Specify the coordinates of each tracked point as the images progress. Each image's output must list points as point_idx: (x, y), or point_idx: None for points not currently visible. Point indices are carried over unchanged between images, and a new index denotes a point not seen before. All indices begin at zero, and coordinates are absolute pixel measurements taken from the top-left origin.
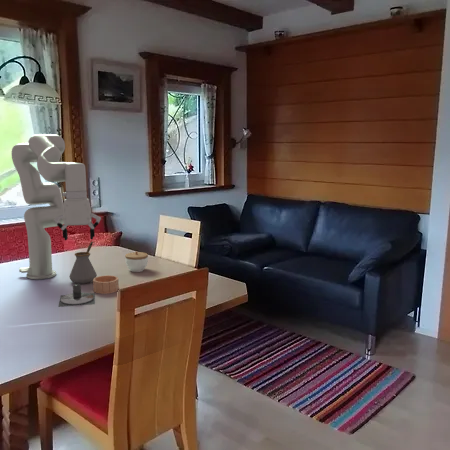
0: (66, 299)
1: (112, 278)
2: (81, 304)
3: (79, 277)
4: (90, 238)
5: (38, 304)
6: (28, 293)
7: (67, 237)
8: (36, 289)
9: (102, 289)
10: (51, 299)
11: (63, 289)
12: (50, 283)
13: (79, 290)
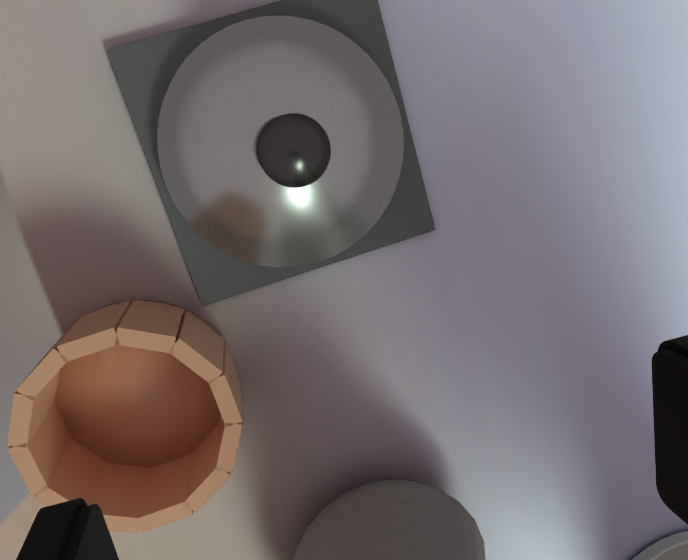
0: (352, 98)
1: (100, 501)
2: (210, 32)
3: (391, 498)
4: (89, 509)
5: (530, 48)
6: (659, 268)
7: (678, 502)
8: (633, 351)
9: (130, 309)
10: (476, 159)
11: (462, 373)
12: (582, 477)
13: (261, 130)
